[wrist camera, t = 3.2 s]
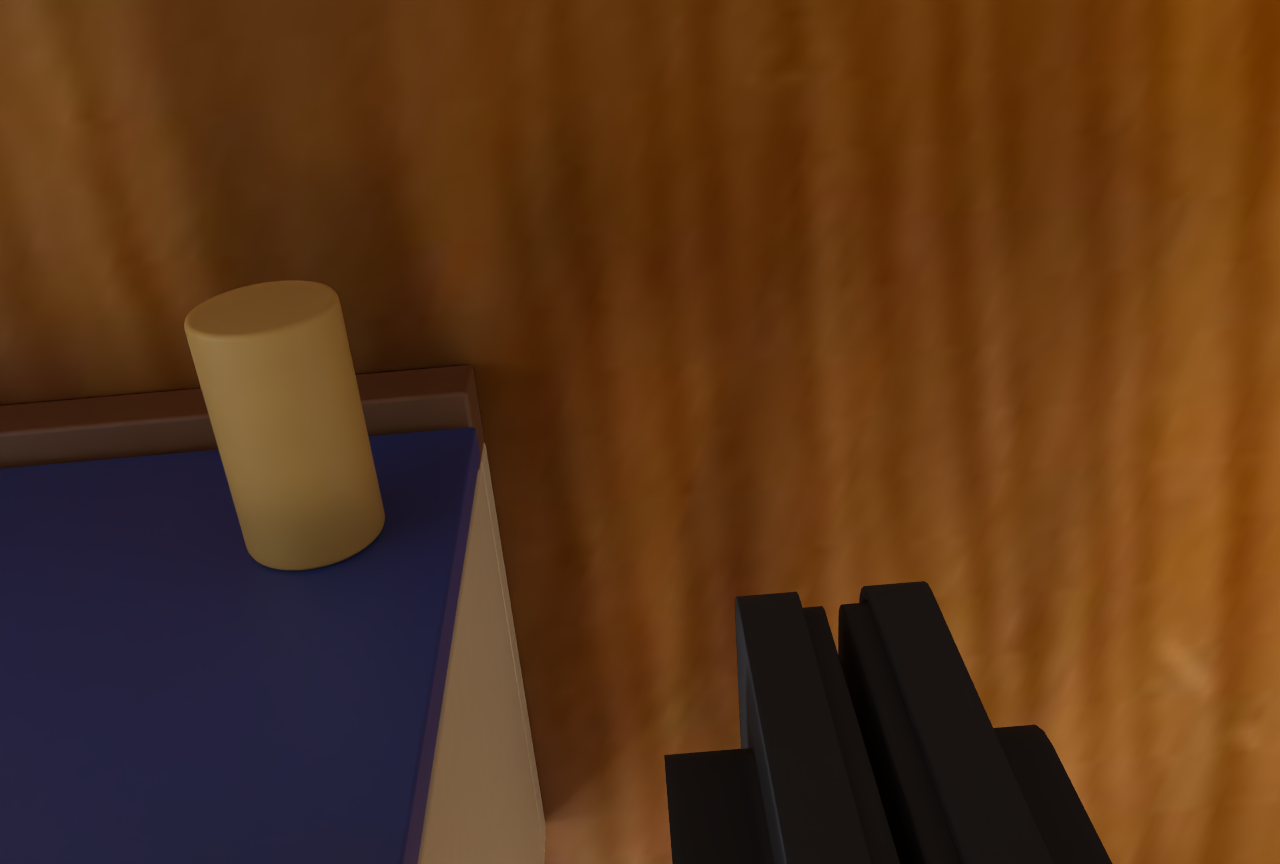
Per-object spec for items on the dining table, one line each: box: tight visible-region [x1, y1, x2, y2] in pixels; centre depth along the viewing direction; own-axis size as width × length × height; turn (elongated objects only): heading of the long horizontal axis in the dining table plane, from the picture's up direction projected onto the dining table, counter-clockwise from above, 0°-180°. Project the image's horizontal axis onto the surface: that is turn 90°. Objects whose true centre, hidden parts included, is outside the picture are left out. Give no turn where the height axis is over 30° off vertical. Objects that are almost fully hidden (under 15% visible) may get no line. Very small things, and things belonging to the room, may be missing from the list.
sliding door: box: [0, 280, 480, 864], centre depth 15 cm, size 4×9×9 cm, turn 94°
